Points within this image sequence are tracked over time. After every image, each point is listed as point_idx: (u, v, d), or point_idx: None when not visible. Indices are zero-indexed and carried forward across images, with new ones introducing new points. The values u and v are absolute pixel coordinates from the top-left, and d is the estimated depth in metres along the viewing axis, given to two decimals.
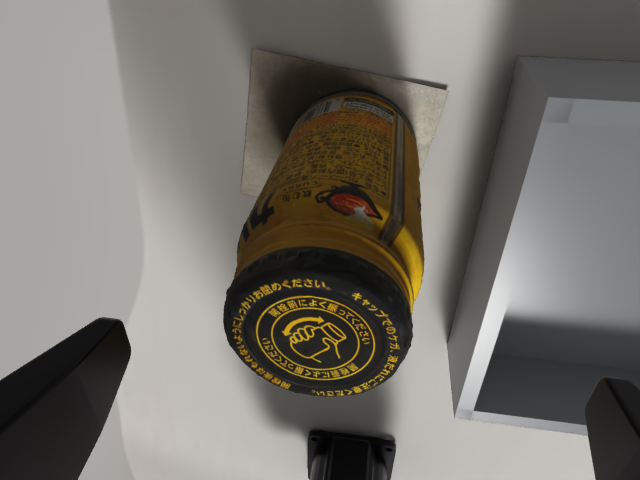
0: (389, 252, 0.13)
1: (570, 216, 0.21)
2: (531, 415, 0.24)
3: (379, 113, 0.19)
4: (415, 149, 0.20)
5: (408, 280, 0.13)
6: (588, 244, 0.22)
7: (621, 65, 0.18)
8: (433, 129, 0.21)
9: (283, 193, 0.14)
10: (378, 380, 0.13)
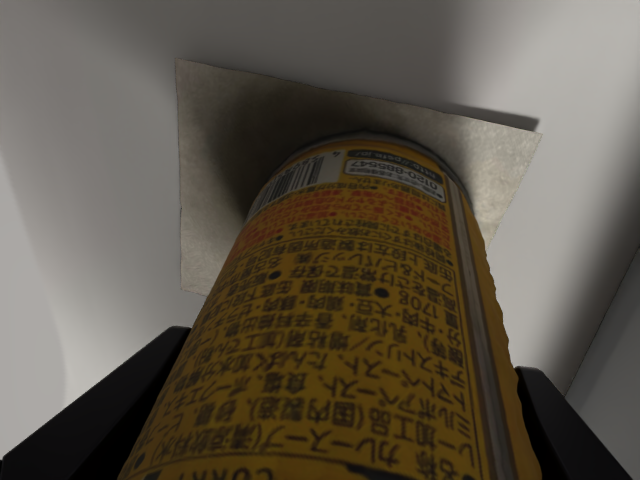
0: None
1: None
2: None
3: (417, 184, 0.10)
4: (483, 246, 0.10)
5: None
6: None
7: None
8: (506, 198, 0.12)
9: None
10: None
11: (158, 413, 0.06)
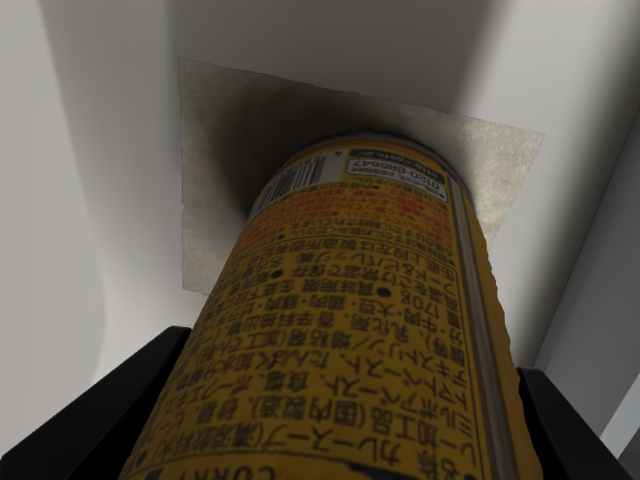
0: None
1: None
2: None
3: (420, 184, 0.10)
4: (485, 246, 0.10)
5: None
6: None
7: None
8: (508, 199, 0.12)
9: None
10: None
11: (160, 411, 0.06)
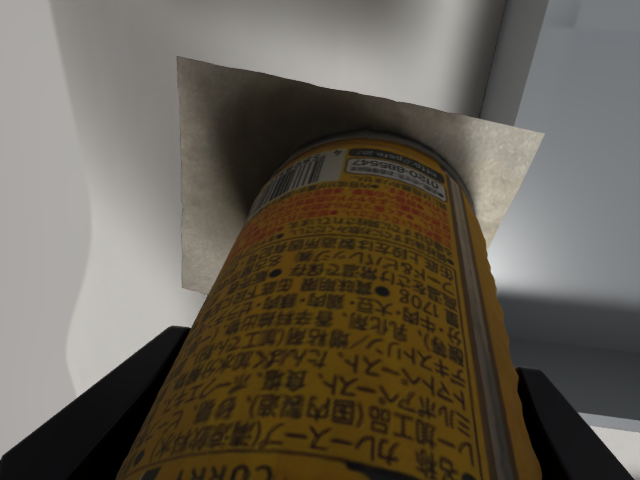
0: None
1: (572, 169, 0.18)
2: None
3: (418, 183, 0.10)
4: (485, 246, 0.10)
5: None
6: (593, 204, 0.19)
7: None
8: (508, 198, 0.12)
9: None
10: None
11: (158, 410, 0.06)
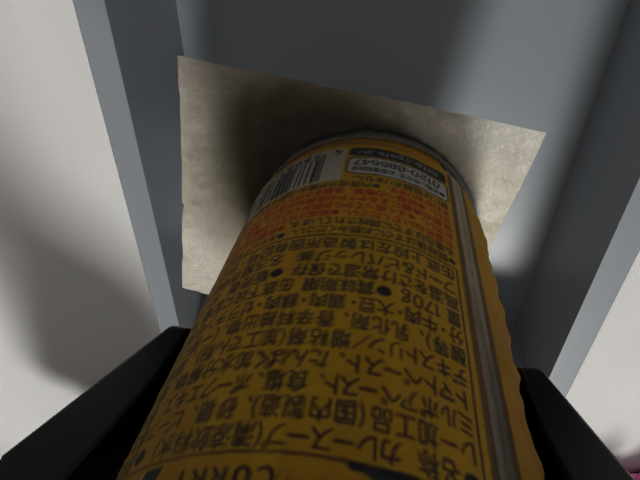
0: None
1: None
2: None
3: (420, 183, 0.10)
4: (486, 245, 0.10)
5: None
6: None
7: None
8: (509, 198, 0.12)
9: None
10: None
11: (159, 410, 0.06)
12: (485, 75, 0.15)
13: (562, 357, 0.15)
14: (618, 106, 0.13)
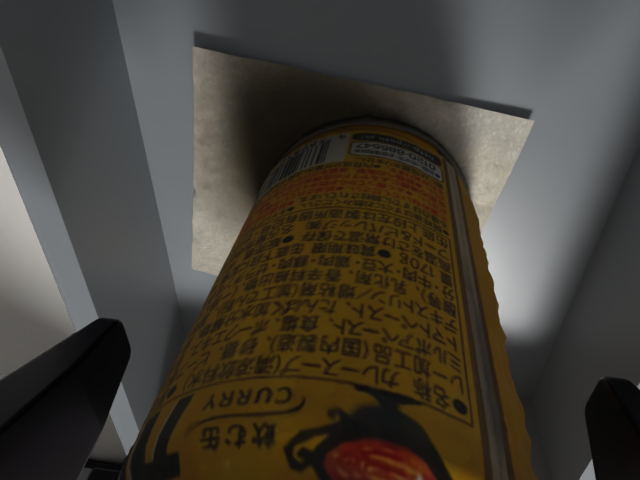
0: None
1: None
2: None
3: (417, 165, 0.10)
4: (478, 224, 0.11)
5: None
6: None
7: None
8: (500, 182, 0.12)
9: (205, 418, 0.05)
10: None
11: (185, 355, 0.07)
12: None
13: None
14: None
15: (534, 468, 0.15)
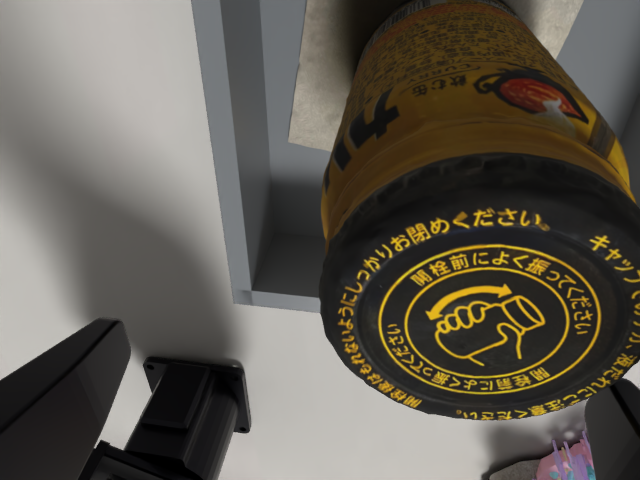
0: (617, 173, 0.07)
1: None
2: None
3: (502, 8, 0.13)
4: None
5: None
6: None
7: None
8: (559, 43, 0.15)
9: (412, 85, 0.08)
10: (582, 396, 0.08)
11: (366, 92, 0.10)
12: None
13: None
14: None
15: None
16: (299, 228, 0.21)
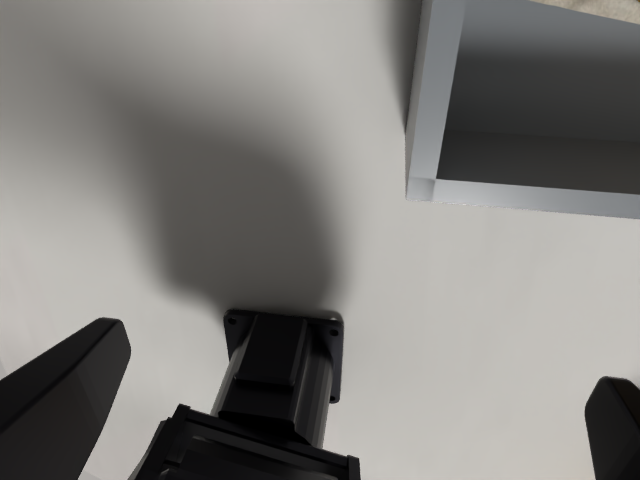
0: None
1: None
2: (534, 184, 0.14)
3: None
4: None
5: None
6: None
7: None
8: None
9: None
10: None
11: None
12: None
13: None
14: None
15: None
16: (464, 120, 0.17)
